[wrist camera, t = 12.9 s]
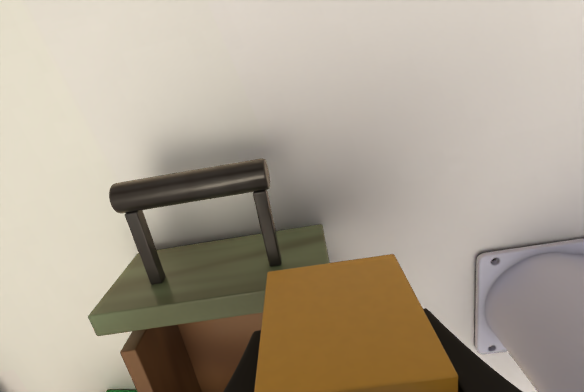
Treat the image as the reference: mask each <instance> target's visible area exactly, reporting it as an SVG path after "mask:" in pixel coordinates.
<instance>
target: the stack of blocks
mask: <svg viewBox="0 0 584 392" xmlns="http://www.w3.org/2000/svg"><path fill="white" fill-rule="evenodd" d="M106 392H138V391H137V390H107V391H106Z"/></svg>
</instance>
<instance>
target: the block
mask: <svg viewBox="0 0 584 392" xmlns="http://www.w3.org/2000/svg"><path fill="white" fill-rule="evenodd" d="M254 392H458V374H457V372H456V371H455V369H454V367H453V365H452V363H451V361H450V359H449V357H448V355H447V354H446V352H445V350H444V348H443V346H442V344H441V342H440V340H439V338H438V337H437V335H436V333H435V331H434V329H433V327H432V325H431V323H430V321H429V320H428V318H427V316H426V314H425V312H424V310H423V308H422V306H421V304H420V303H419V301H418V299H417V297H416V295H415V293H414V291H413V289H412V287H411V286H410V284H409V282H408V280H407V278H406V276H405V274H404V272H403V270H402V269H401V267H400V265H399V263H398V261H397V259H396V257H395V255H394V254H390V255H383V256H376V257H369V258H362V259H355V260H348V261H341V262H334V263H327V264H320V265H313V266H306V267H298V268H291V269H284V270H277V271H270V272H268V273H267V281H266V290H265V299H264V308H263V317H262V326H261V335H260V344H259V353H258V362H257V371H256V380H255V389H254Z"/></svg>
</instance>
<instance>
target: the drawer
mask: <svg viewBox="0 0 584 392" xmlns="http://www.w3.org/2000/svg"><path fill="white" fill-rule="evenodd" d="M269 188H270V177H269V171H268V166H267V163H266V160H265V159H263V158H262V159H256V160H250V161H244V162H238V163H232V164H226V165H220V166H214V167H209V168H203V169H197V170H191V171H185V172H179V173H173V174H167V175H161V176H156V177H150V178H144V179H138V180H132V181H126V182H120V183H115V184H113V185H112V186H111V188H110V192H109V198H110V202H111V205H112V207H113V209H114V210H115V211H116V212H118V213H126V214H125V217H126V220H127V222H128V225H129V228H130V230H131V233H132V236H133V238H134V241H135V243H136V246H137V249H138V251H139V253H138V254H137V255H136V256H135V258H134V259H133V260H132V261H131V263H130V264H129V265H128V266H127V268H126V269H125V270H124V271H123V273H122V274H121V275H120V277H119V278H118V279H117V280H116V282H115V283H114V284H113V285H112V287H111V288H110V289H109V290H108V292H107V293H106V294H105V295H104V297H103V298H102V299H101V300H100V302H99V303H98V304H97V306H96V307H95V308H94V309H93V311H92V312H91V313H90V314H89V316H88V318H89V320H90V322H91V324H92V326H93V328H94V331H95V333H96V335H97V336H102V335H109V334H116V333H123V332H130V331H132V333H131V335H130V336H129V338H128V340H127V342H126V343H125V345H124V347H123V348H122V350H121V352H120V353H121V356H122V358H123V360H124V362H125V365H126V367H127V369H128V371H129V374H130V376H131V378H132V380H133V382H134V385H135V387H136V389H137V391H138V392H223V391H224V390H225V388H226V386H227V384H228V382H229V381H230V379H231V377H232V375H233V373H234V371H235V369H236V368H237V366H238V364H239V362H240V360H241V358H242V355H243V353H244V351H245V349H246V347H247V345H248V343H249V340H250V338H251V336H252V334H253V333H254V331H259V330H261V326H262V317H263V308H264V299H265V290H266V281H267V273H268V272H270V271H277V270H284V269H291V268H298V267H306V266H313V265H320V264H327V263H329V258H328V253H327V247H326V242H325V237H324V231H323V226H322V224H319V225H313V226H307V227H300V228H294V229H287V230H281V231H276V230H275V225H274V220H273V216H272V211H271V206H270V201H269V197H268V192H267V189H269ZM249 192H253V196H254V201H255V205H256V209H257V214H258V218H259V223H260V227H261V231H262V234H256V235H249V236H243V237H236V238H230V239H224V240H217V241H211V242H205V243H198V244H192V245H185V246H179V247H173V248H166V249H160V250H156V248H155V245H154V242H153V239H152V236H151V234H150V231H149V228H148V225H147V222H146V219H145V217H144V214H143V211H142V210H145V209H151V208H157V207H163V206H170V205H176V204H182V203H188V202H194V201H200V200H206V199H212V198H218V197H224V196H230V195H237V194H243V193H249Z"/></svg>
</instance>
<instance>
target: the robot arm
mask: <svg viewBox="0 0 584 392" xmlns="http://www.w3.org/2000/svg"><path fill="white" fill-rule="evenodd" d="M493 258H496V260H495V261H493V262H491V261H492V259H493ZM423 310H424V312H425V314H426V316H427V318H428V320H429V321H430V323H431V325H432V327H433V329H434V331H435V333H436V335H437V337H438V338H439V340H440V342H441V344H442V346H443V348H444V350H445V352H446V354H447V355H448V357H449V359H450V361H451V363H452V365H453V367H454V369H455V371H456V372H457V374H458V392H522V391H521V390H519V389H518V388H517V387H515V386H514V385H513V384H511V383H510V382H509V381H507V380H506V379H505V378H504V377H502V376H501V375H500V374H498V373H497V372H496V371H495V370H493V369H492V368H491V367H490V366H489V365H487V364H486V363H485V362H484V361H483V360H481V359H480V358H479V357H478V356H477V355H476V354H475V353H473V352H472V351H471V350H470V349H469V348H468V347H466V346H465V345H464V344H463V343H462V342H461V341H460V340H459V339H458V338H457V337H455V336H454V335H453V334H452V333H451V332H450V331H449V330H448V329H447V328H446V327H445V326H444V325H443V324H442V323H441V322H440V321H439V320H438V319H437V318H436V317H435V316H434V315H433V314H432V313H431V312H430V311H429V310H427V309H426V308H425V309H423ZM260 335H261V330H259V331H254V333H253V334H252V336H251V338H250V340H249V343H248V345H247V347H246V349H245V351H244V353H243V355H242V358H241V360H240V362H239V364H238V366H237V368H236V369H235V371H234V373H233V375H232V377H231V379H230V381H229V382H228V384H227V386H226V388H225V390H224V391H223V392H254V389H255V380H256V371H257V362H258V353H259V344H260ZM475 349H476V350H477V352H478V353H480V354H490V353H498V352H506V351H508V352H509V354H510V355H511V356H512V358H513V359H514V360H515V362H516V363H517V364H518V366H519V367H520V368H521V370H522V371H523V373H524V374H525V375H526V377H527V378H528V379H529V381H530V382H531V383H532V385H533V386H534V387H535V389H536V390H537V391H538V392H584V238H581V239H575V240H568V241H561V242H554V243H548V244H541V245H534V246H527V247H520V248H514V249H507V250H500V251H493V252H487V253H482V254H480V255H479V256H478V257H477V260H476V307H475Z"/></svg>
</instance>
